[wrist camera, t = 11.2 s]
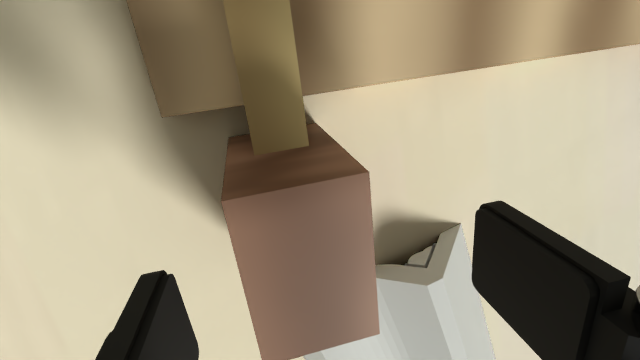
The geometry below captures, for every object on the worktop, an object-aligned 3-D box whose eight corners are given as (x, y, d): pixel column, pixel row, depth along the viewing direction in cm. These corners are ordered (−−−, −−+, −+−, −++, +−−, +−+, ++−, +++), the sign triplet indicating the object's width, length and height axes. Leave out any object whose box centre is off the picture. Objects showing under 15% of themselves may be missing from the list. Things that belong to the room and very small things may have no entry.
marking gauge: (283, -139, 12) (333, -358, 6) (329, 233, 18) (380, 334, 11) (166, -134, 11) (71, -377, 5) (254, 250, 17) (263, 366, 11)
